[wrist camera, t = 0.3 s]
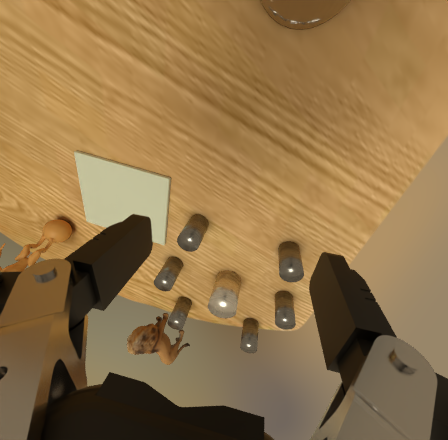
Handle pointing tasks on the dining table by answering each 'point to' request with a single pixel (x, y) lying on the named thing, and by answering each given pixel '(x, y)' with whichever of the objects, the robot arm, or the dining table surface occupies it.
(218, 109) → the dining table surface
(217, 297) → the clear rounded cylinder
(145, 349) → the lion figurine
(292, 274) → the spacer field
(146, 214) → the sage mat
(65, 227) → the figurine
